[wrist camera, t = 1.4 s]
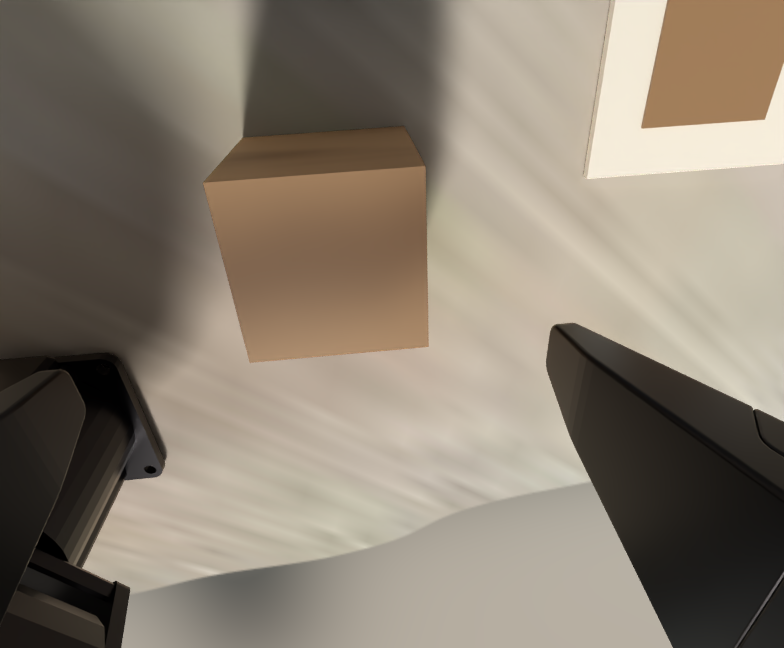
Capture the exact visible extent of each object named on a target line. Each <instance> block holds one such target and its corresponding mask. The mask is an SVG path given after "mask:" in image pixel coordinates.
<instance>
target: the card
mask: <svg viewBox="0 0 784 648" xmlns="http://www.w3.org/2000/svg"><path fill="white" fill-rule="evenodd" d="M775 164H784V0H611V1H610V8H609V14H608V20H607V27H606V33H605V40H604V46H603V53H602V59H601V65H600V72H599V78H598V85H597V91H596V98H595V104H594V110H593V117H592V123H591V130H590V136H589V143H588V149H587V155H586V162H585V168H584V175H583V177H585V178H586V179H593V178H606V177H619V176H632V175H645V174H658V173H671V172H684V171H697V170H710V169H723V168H736V167H749V166H762V165H775Z"/></svg>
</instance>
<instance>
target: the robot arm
mask: <svg viewBox="0 0 784 648" xmlns="http://www.w3.org/2000/svg"><path fill="white" fill-rule="evenodd" d="M102 364H103V365H107V366H109V368H110V369H108V368H105V367H103V366H102ZM546 367H547V372H548V375H549V378H550V381H551V384H552V387H553V389H554V392H555V395H556V398H557V401H558V404H559V407H560V410H561V412H562V415H563V418H564V421H565V424H566V427H567V429H568V432H569V435H570V437H571V440H572V442H573V444H574V446H575V448H576V451H577V453H578V455H579V457H580V459H581V461H582V463H583V465H584V467H585V469H586V471H587V473H588V475H589V477H590V479H591V481H592V483H593V485H594V487H595V489H596V491H597V493H598V495H599V497H600V500H601V502H602V504H603V506H604V508H605V510H606V512H607V514H608V516H609V518H610V520H611V522H612V524H613V526H614V528H615V530H616V532H617V534H618V536H619V538H620V540H621V542H622V544H623V547H624V549H625V551H626V553H627V555H628V557H629V559H630V561H631V563H632V565H633V567H634V569H635V571H636V573H637V575H638V577H639V579H640V581H641V583H642V585H643V587H644V589H645V591H646V593H647V596H648V598H649V600H650V601H651V604H652V606H653V608H654V610H655V612H656V614H657V616H658V618H659V620H660V622H661V624H662V626H663V628H664V630H665V632H666V634H667V636H668V638H669V640H670V642H671V645H672V647H673V648H784V422H783V421H781V420H779V419H777V418H775V417H773V416H771V415H769V414H766V413H764V412H762V411H760V410H758V409H755V410H753V408H752V407H751V406H749V405H747V404H745V403H743V402H741V401H739V400H737V399H735V398H733V397H730V396H728V395H726V394H724V393H722V392H720V391H718V390H716V389H713V388H711V387H709V386H707V385H705V384H703V383H701V382H699V381H697V380H694V379H692V378H690V377H688V376H686V375H684V374H682V373H680V372H678V371H675V370H673V369H671V368H669V367H667V366H665V365H663V364H661V363H659V362H656V361H654V360H652V359H650V358H648V357H646V356H644V355H642V354H640V353H637V352H635V351H633V350H631V349H629V348H627V347H625V346H623V345H621V344H618V343H616V342H614V341H612V340H610V339H608V338H606V337H604V336H602V335H599V334H597V333H595V332H593V331H591V330H589V329H587V328H585V327H583V326H580V325H578V324H576V323H565V324H556V325H554V326H553V327H552V328H551V331H550V337H549V344H548V351H547V358H546ZM164 466H165V461H164V459H163V456H162V454H161V452H160V450H159V447H158V445H157V443H156V440H155V438H154V436H153V434H152V431H151V429H150V427H149V424H148V422H147V420H146V417H145V415H144V413H143V411H142V408H141V406H140V404H139V401H138V399H137V397H136V395H135V392H134V390H133V388H132V385H131V383H130V381H129V378H128V376H127V374H126V372H125V369H124V367H123V365H122V362H121V361H120V360H119V358H118V357H116V356H115V355H112V354H110V353H96V354H85V355H73V356H62V357H49V356H39V357H27V358H16V359H4V360H0V648H121V643H122V638H123V632H124V625H125V619H126V613H127V606H128V600H129V594H130V588H129V587H128V586H125V585H123V584H121V583H119V582H117V581H115V582H113V583H112V582H110V581H108V580H105V579H103V578H101V577H99V576H97V575H95V574H93V573H91V572H88V571H86V570H84V569H82V567H83V565H84V563H85V561H86V559H87V557H88V555H89V553H90V551H91V548H92V546H93V544H94V542H95V540H96V538H97V536H98V534H99V532H100V530H101V528H102V526H103V524H104V522H105V519H106V517H107V515H108V513H109V511H110V509H111V507H112V505H113V503H114V501H115V499H116V497H117V495H118V492H119V490H120V488H121V486H122V484H123V482H124V480H133V479H143V478H153V477H158V476H159V475H161V473H162V471H163V469H164Z"/></svg>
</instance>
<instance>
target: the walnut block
mask: <svg viewBox="0 0 784 648" xmlns="http://www.w3.org/2000/svg"><path fill="white" fill-rule="evenodd" d="M203 185H204V189H205V193H206V197H207V201H208V204H209V208H210V212H211V216H212V220H213V224H214V227H215V231H216V235H217V239H218V243H219V247H220V250H221V254H222V258H223V262H224V266H225V270H226V273H227V277H228V281H229V285H230V289H231V293H232V296H233V300H234V304H235V308H236V312H237V316H238V319H239V323H240V327H241V331H242V335H243V339H244V342H245V346H246V350H247V354H248V358H249V362H250V363H252V362H264V361H275V360H286V359H297V358H308V357H320V356H331V355H342V354H353V353H364V352H376V351H387V350H398V349H409V348H421V347H429V342H428V282H427V222H426V166H425V164H424V162H423V160H422V158H421V157H420V155H419V153H418V151H417V149H416V147H415V145H414V144H413V142H412V140H411V138H410V136H409V134H408V132H407V130H406V129H405V127H404V126H398V127H384V128H370V129H356V130H342V131H328V132H314V133H301V134H287V135H273V136H259V137H245V138H242V139H241V140H240V141H239V143H238V144H237V145H236V146H235V147H234V148H233V149H232V150H231V152H230V153H229V154H228V155H227V156H226V157H225V158H224V159H223V161H222V162H221V163H220V164H219V165H218V166H217V167H216V169H215V170H214V171H213V172H212V173H211V174H210V175H209V176H208V178H207V179H206V180H205V181H204V182H203Z"/></svg>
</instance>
